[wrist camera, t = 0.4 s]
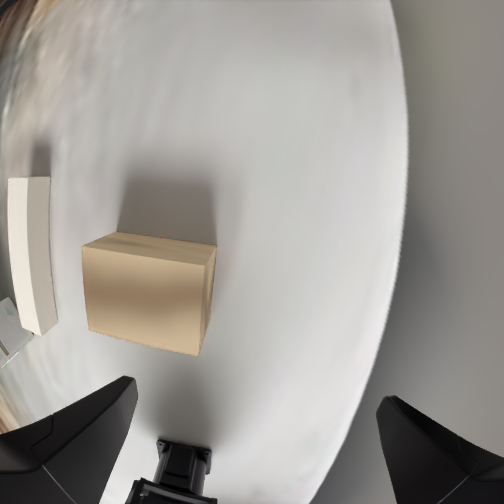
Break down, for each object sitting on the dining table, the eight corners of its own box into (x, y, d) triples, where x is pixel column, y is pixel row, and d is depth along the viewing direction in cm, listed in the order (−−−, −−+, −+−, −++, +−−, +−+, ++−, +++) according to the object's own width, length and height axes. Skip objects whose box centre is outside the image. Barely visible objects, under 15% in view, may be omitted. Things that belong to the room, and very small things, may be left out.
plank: (58, 322, 21) (41, 336, 18) (38, 315, 21) (22, 327, 18) (50, 176, 18) (28, 177, 15) (30, 176, 18) (8, 177, 15)
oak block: (210, 319, 21) (198, 356, 16) (118, 301, 21) (88, 330, 16) (217, 245, 19) (204, 265, 15) (117, 231, 19) (81, 246, 14)
